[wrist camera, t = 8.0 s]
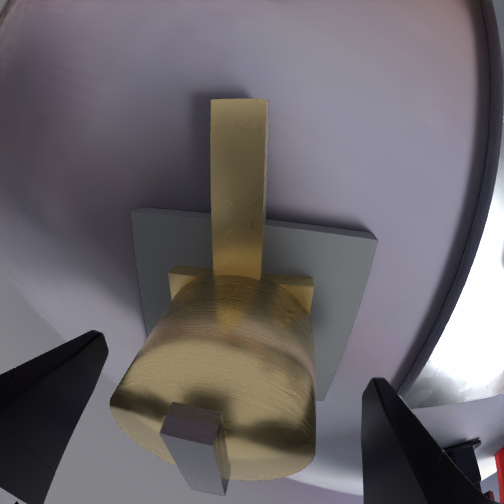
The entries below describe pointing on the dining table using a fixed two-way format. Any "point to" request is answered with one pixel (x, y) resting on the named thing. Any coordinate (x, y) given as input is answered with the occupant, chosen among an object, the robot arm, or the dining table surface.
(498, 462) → the french fries
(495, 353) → the lock base
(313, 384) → the gold rounded piece
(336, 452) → the dining table surface
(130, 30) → the dining table surface
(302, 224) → the mat
